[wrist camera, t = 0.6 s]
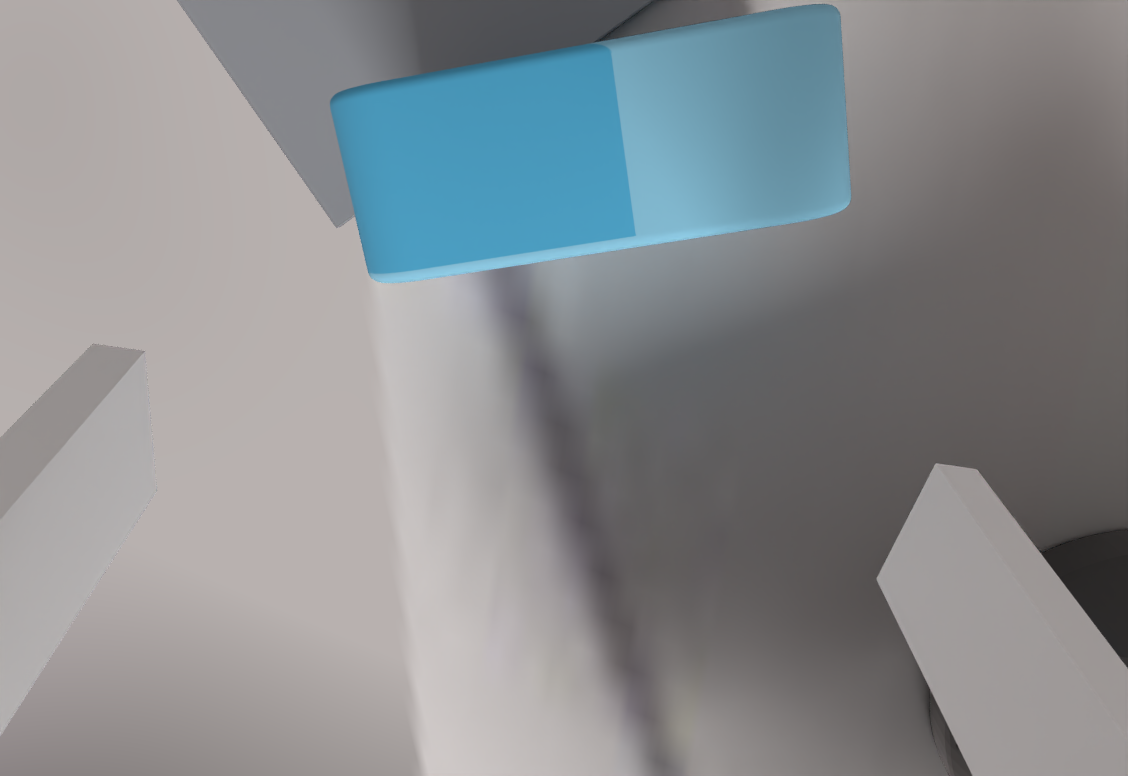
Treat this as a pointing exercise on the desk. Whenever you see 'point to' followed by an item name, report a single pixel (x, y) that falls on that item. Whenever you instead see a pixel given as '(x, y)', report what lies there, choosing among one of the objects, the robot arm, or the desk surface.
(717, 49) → the data package
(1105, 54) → the desk surface
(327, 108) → the mat
